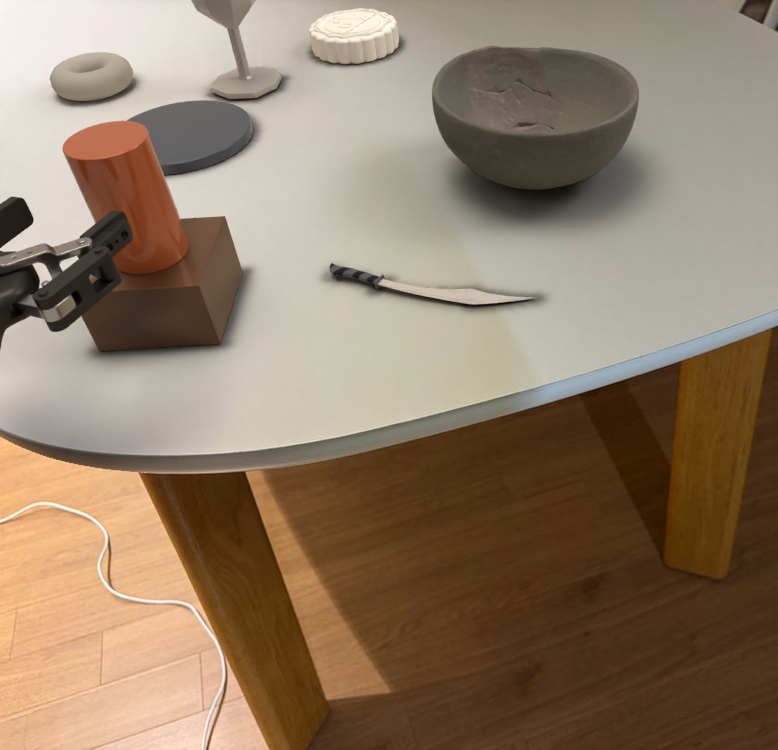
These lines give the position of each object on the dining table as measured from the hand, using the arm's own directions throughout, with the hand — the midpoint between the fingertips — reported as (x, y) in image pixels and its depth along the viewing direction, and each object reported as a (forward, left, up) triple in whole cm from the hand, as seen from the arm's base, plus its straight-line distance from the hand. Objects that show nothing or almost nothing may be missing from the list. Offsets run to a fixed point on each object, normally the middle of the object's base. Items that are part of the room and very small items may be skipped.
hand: (73, 215), depth 57 cm
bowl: (+35, +25, -13) cm, 45 cm away
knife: (+24, +6, -13) cm, 28 cm away
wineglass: (0, +51, -13) cm, 53 cm away
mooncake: (+13, +62, -13) cm, 65 cm away
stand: (+2, +5, -13) cm, 14 cm away
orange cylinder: (+2, +5, -7) cm, 9 cm away
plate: (-5, +37, -13) cm, 40 cm away
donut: (-20, +53, -13) cm, 59 cm away
